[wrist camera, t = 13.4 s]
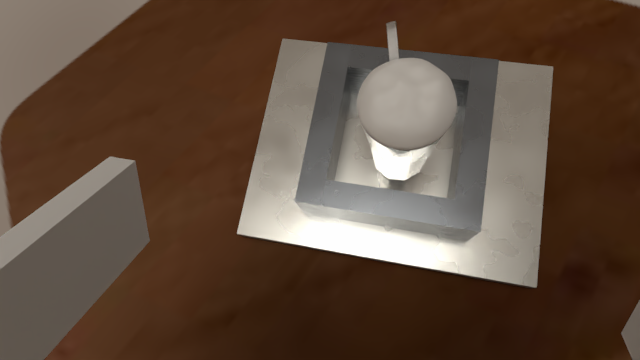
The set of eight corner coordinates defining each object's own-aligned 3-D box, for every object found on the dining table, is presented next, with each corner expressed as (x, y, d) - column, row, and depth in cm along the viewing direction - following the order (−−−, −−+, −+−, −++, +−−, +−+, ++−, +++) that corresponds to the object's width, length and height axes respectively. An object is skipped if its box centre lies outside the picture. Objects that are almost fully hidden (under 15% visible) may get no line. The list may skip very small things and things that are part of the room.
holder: (546, 75, 30) (575, 35, 26) (529, 288, 27) (560, 285, 23) (285, 47, 33) (271, 7, 29) (242, 236, 30) (218, 224, 26)
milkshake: (421, 104, 30) (442, 9, 20) (444, 182, 28) (477, 119, 19) (353, 120, 30) (341, 34, 20) (371, 198, 28) (368, 144, 19)
